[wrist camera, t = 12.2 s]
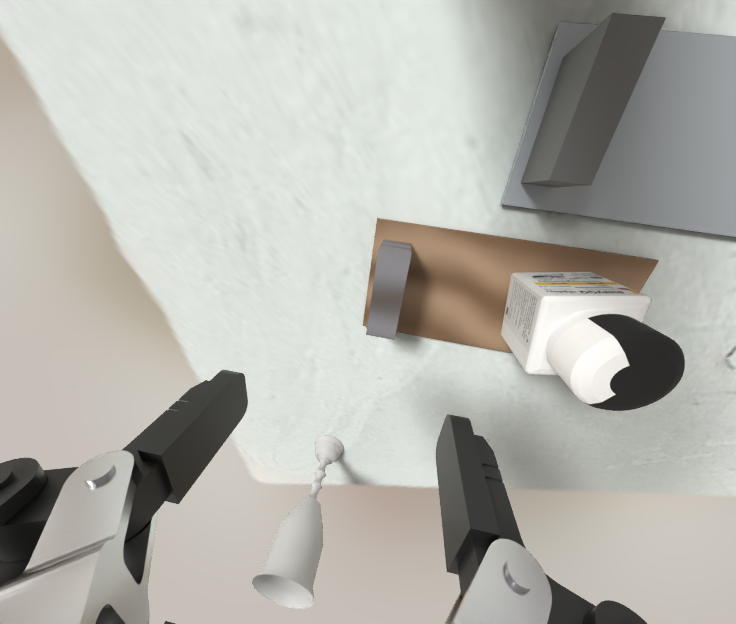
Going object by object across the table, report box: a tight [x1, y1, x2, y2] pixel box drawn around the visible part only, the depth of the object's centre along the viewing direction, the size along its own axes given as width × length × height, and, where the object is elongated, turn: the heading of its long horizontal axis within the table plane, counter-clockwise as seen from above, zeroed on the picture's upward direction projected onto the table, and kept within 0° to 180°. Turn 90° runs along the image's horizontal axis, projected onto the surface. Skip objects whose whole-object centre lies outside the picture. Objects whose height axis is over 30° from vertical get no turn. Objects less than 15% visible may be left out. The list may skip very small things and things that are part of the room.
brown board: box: [363, 218, 658, 353], centre depth 27 cm, size 13×28×6 cm, turn 83°
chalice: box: [252, 435, 344, 609], centre depth 36 cm, size 7×7×18 cm
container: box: [501, 272, 685, 411], centre depth 23 cm, size 8×8×13 cm
